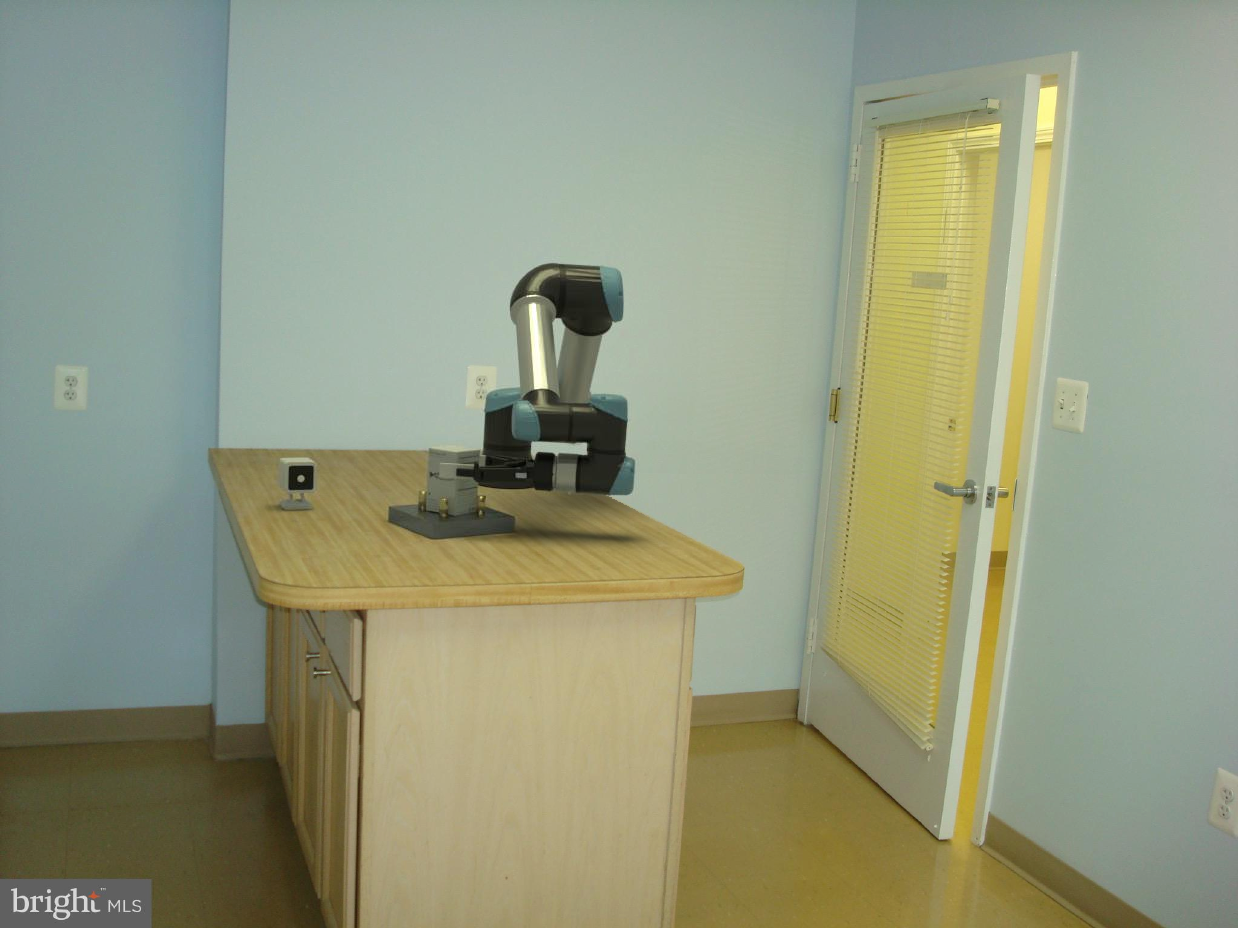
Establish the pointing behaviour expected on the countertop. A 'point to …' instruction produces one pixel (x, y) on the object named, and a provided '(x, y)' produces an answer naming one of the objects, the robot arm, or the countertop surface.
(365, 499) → the countertop surface
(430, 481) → the supplement box
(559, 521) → the countertop surface
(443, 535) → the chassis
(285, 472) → the security camera
